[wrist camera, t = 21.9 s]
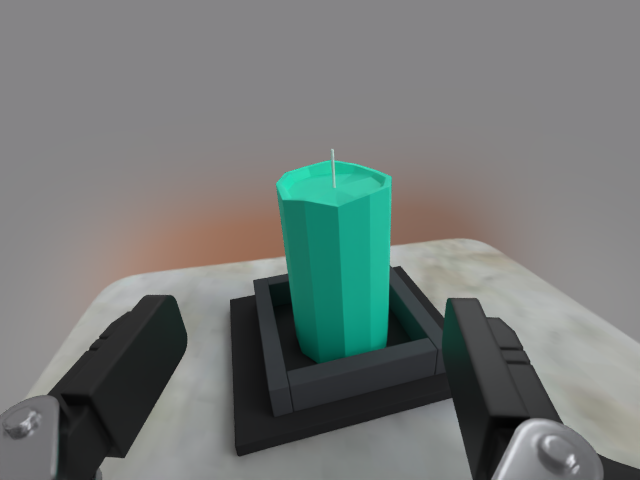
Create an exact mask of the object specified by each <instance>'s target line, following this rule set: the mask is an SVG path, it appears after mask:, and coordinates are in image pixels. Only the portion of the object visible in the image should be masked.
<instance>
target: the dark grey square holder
mask: <svg viewBox="0 0 640 480" xmlns="http://www.w3.org/2000/svg"><path fill="white" fill-rule="evenodd" d="M253 283H254V290H255V295H252V296H247V297H242V298H237V299H232V300H230V310H231V338H232V365H233V393H234V420H235V447H236V450H237V453H238V456H241V455H245V454H249V453H252V452H256V451H260V450H263V449H267V448H270V447H274V446H278V445H281V444H285V443H289V442H292V441H296V440H300V439H303V438H307V437H310V436H314V435H318V434H321V433H325V432H329V431H332V430H336V429H339V428H343V427H347V426H350V425H354V424H358V423H361V422H365V421H369V420H372V419H376V418H379V417H383V416H387V415H390V414H394V413H398V412H401V411H405V410H409V409H412V408H416V407H419V406H423V405H427V404H430V403H434V402H438V401H441V400H445V399H448V398H452V394H451V390H450V386H449V382H448V378H447V374H446V370H445V366H444V362H443V356H442V335H443V327H444V317H443V316H442V315H441V314H440V313H439V311H438V310H437V309H436V308H435V307H434V306H433V304H432V303H431V302H430V301H429V300H428V298H427V297H426V296H425V295H424V294H423V292H422V291H421V290H420V289H419V288H418V287H417V285H416V284H415V283H414V282H413V281H412V279H411V278H410V277H409V276H408V275H407V273H406V272H405V271H404V270H403V269H402V268H401V266H398V267H393V268H392V267H391V266H390V271H389V313H388V335H387V344H386V347H385V348H383V349H378V350H374V351H370V352H366V353H362V354H358V355H353V356H349V357H345V358H341V359H337V360H333V361H328V362H324V363H320V364H318V363H317V362H315V361H314V360H312V359H311V358H309V357H308V356H306V355H305V354H304V353H302V351H301V348H300V345H299V342H298V339H297V336H296V329H295V322H294V314H293V307H292V299H291V292H290V285H289V277H288V274H284V275H279V276H274V277H268V278H263V279H257V280H253Z"/></svg>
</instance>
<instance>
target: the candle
mask: <svg viewBox="0 0 640 480" xmlns="http://www.w3.org/2000/svg"><path fill="white" fill-rule="evenodd" d="M391 183H392V177H391V176H389V175H387V174H385V173H382V172H380V171H377V170H374V169H371V168H368V167H364V166H361V165H358V164H353V163H347V162H341V161H335V160H334V149H331V160H328V161H324V162H321V163H317V164H313V165H309V166H305V167H302V168H299V169H295V170H292V171H289V172H286V173H285V174H284V175H283V176H282V177H281V178H280V179H279V181H278V182H277V183H276V187H277V195H278V202H279V209H280V217H281V225H282V232H283V240H284V247H285V255H286V262H287V270H288V277H289V285H290V292H291V299H292V307H293V314H294V322H295V329H296V336H297V339H298V342H299V345H300V348H301V351H302V353H304V354H305V355H306V356H308V357H309V358H311V359H312V360H314V361H315V362H317V363H318V364H320V363H324V362H328V361H333V360H337V359H341V358H345V357H349V356H353V355H358V354H362V353H366V352H370V351H374V350H378V349H383V348H385V347H386V344H387V335H388V313H389V271H390V229H391V228H390V227H391V186H392V184H391Z"/></svg>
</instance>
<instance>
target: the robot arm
mask: <svg viewBox="0 0 640 480" xmlns="http://www.w3.org/2000/svg"><path fill="white" fill-rule="evenodd" d="M186 347H187V332H186V329H185V326H184V323H183V320H182V317H181V314H180V311H179V307H178V304H177V301H176V299H175V298H174V296H172V295H146V296H144V297H143V298H142V299H141V300H140V301H139V302H138V304H137V305H136V306H135V307H134V308H133V309H132V311H131V312H127V313H125V314H124V315H123V316H121V317H120V318H118V319H117V320H115V321H114V322H112V323H111V324H110V325H109V326H108V327H107V329H106V330H105V331H104V332H103V333H102V334H101V335H100V336H99V339H97V340H96V341H95V342H94V343H93V344H92V345H91V346H90V348H89V351H86V352H85V353H84V354H83V355H82V356H81V358H80V359H79V360H78V361H77V362H76V363H75V364H74V365H73V366H72V368H71V369H70V370H69V371H68V372H67V373H66V374H65V375H64V376H63V378H62V379H61V380H60V381H59V382H58V383H57V384H56V385H55V386H54V388H53V389H52V390H51V391H50V392H49V393H48V394H47V395H42V396H36V397H32V398H29V399H26V400H24V401H22V402H20V403H18V404H16V405H14V406H13V407H11V408H9V409H8V410H6V411H5V412H4V413H3V414H1V415H0V480H102V472H101V470H100V468H99V466H100V465H101V463H102V462H103V460H104V458H105V457H117V458H125V456H126V454H127V453H128V451H129V449H130V447H131V446H132V444H133V442H134V440H135V439H136V437H137V435H138V433H139V432H140V430H141V428H142V426H143V425H144V423H145V421H146V420H147V418H148V416H149V414H150V413H151V411H152V409H153V407H154V406H155V404H156V402H157V400H158V399H159V397H160V395H161V393H162V392H163V390H164V388H165V387H166V385H167V383H168V381H169V380H170V378H171V376H172V374H173V373H174V371H175V369H176V367H177V366H178V364H179V362H180V360H181V359H182V357H183V355H184V353H185V351H186ZM442 356H443V362H444V366H445V370H446V374H447V378H448V382H449V386H450V390H451V394H452V398H453V402H454V406H455V410H456V414H457V418H458V422H459V426H460V430H461V434H462V438H463V442H464V446H465V450H466V454H467V458H468V462H469V466H470V470H471V474H472V478H473V480H640V469H637V468H634V467H631V466H628V465H625V464H622V463H619V462H616V461H613V460H610V459H608V458H606V457H604V456H601V455H599V454H598V453H596V451H595V450H594V449H593V447H592V446H591V445H590V444H589V443H588V442H587V441H586V440H585V439H584V438H583V437H582V436H581V435H580V434H578V433H577V432H575V431H574V430H572V429H571V428H569V427H567V426H565V425H564V424H563V422H562V421H561V419H560V417H559V415H558V413H557V411H556V410H555V408H554V406H553V404H552V402H551V400H550V398H549V396H548V394H547V392H546V390H545V388H544V387H543V385H542V383H541V381H540V379H539V377H538V375H537V373H536V371H535V369H534V367H533V366H532V365H531V364H530V360H529V358H528V356H527V354H526V352H525V351H523V346H522V344H521V343H520V341H519V339H518V337H517V335H516V333H515V331H514V330H512V329H511V328H510V327H509V326H508V325H507V324H506V323H505V322H504V321H502V320H501V319H500V318H492V317H486V316H485V313H484V311H483V309H482V307H481V304H480V302H479V300H478V299H477V298H448V299H447V302H446V310H445V318H444V327H443V335H442Z"/></svg>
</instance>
